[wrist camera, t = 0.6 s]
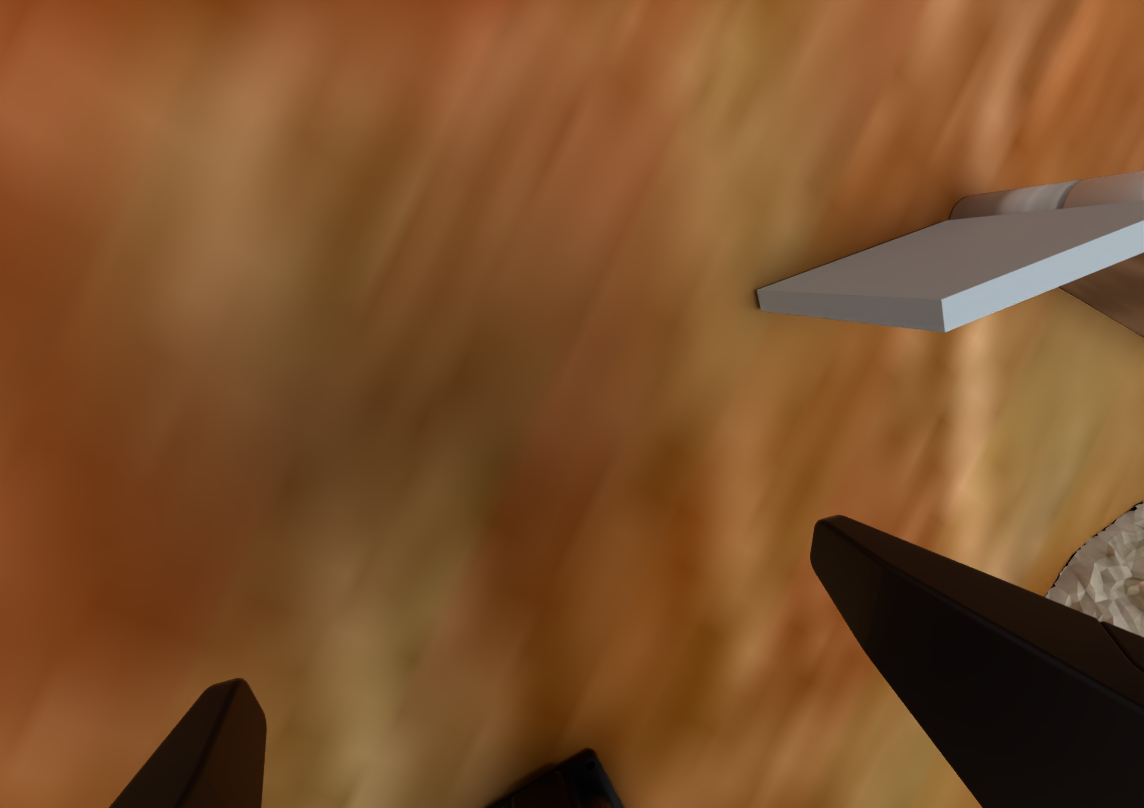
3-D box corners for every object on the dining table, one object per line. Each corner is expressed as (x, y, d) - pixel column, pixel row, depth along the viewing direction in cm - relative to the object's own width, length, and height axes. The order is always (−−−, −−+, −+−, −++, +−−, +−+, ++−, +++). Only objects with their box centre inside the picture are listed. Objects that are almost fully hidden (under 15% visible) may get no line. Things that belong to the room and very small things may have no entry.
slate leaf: (992, 188, 27) (1278, 145, 18) (996, 237, 28) (1273, 220, 19) (753, 274, 25) (938, 275, 16) (764, 325, 26) (947, 354, 17)
